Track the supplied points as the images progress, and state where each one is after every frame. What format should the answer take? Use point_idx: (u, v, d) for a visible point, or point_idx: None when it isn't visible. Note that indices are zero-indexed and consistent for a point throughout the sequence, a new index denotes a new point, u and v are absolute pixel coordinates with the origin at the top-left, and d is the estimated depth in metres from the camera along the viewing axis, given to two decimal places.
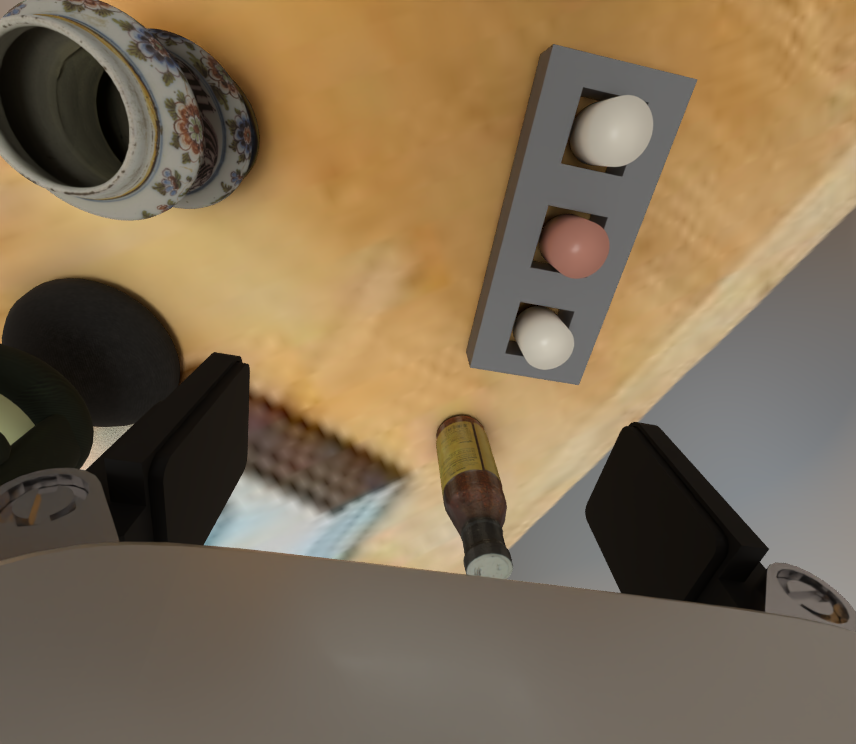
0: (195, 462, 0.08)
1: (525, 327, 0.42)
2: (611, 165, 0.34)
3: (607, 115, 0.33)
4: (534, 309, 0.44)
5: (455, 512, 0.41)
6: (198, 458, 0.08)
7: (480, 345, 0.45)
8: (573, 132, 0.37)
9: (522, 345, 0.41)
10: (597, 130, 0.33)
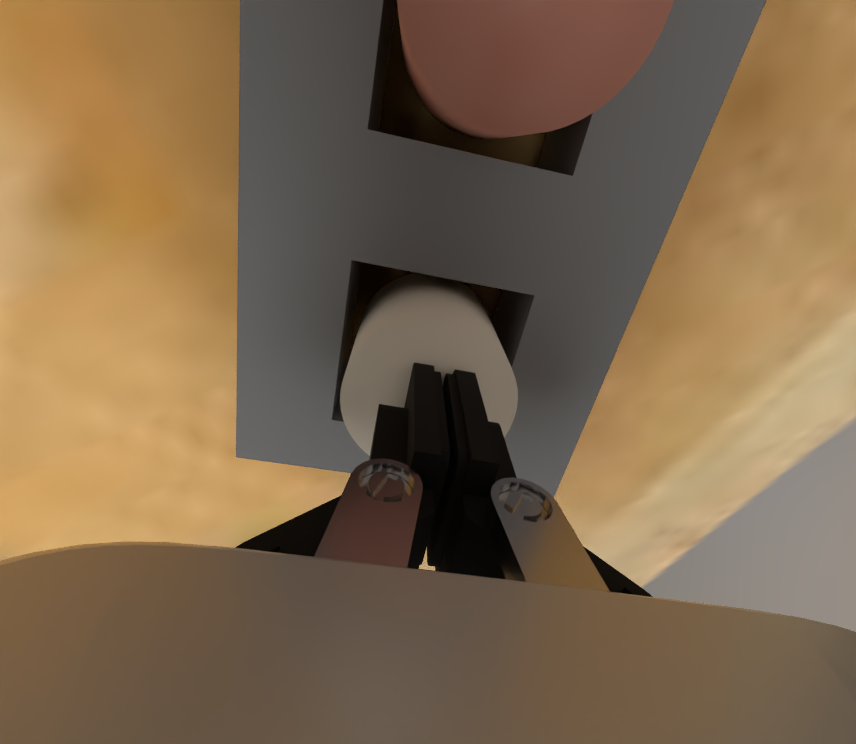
0: None
1: (359, 337, 0.12)
2: None
3: None
4: (408, 280, 0.14)
5: None
6: None
7: (250, 397, 0.15)
8: None
9: None
10: None
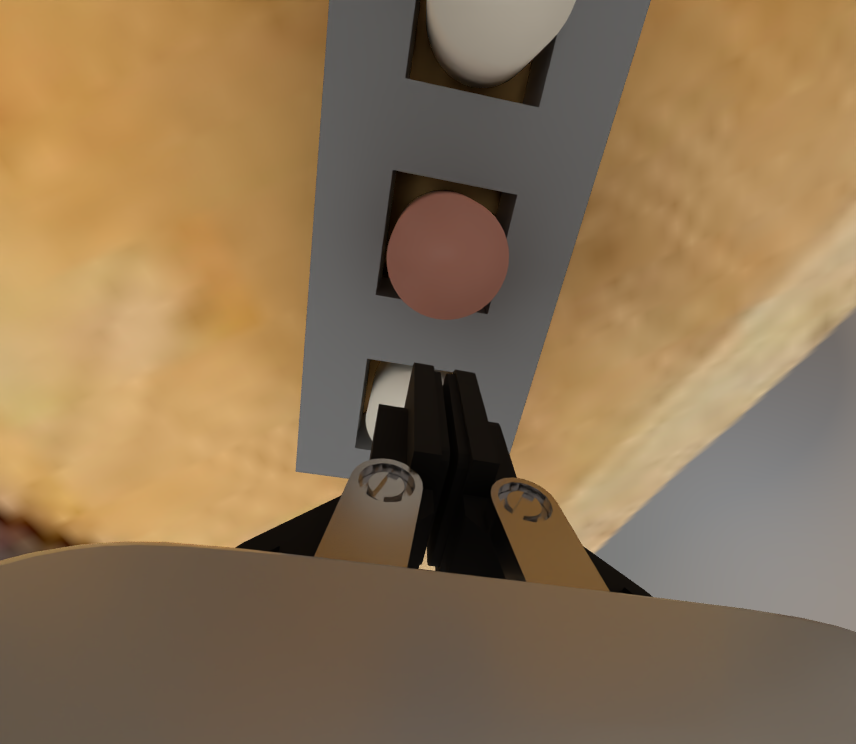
0: None
1: (375, 387, 0.24)
2: (491, 59, 0.15)
3: None
4: None
5: None
6: None
7: (306, 435, 0.25)
8: (426, 8, 0.17)
9: None
10: None
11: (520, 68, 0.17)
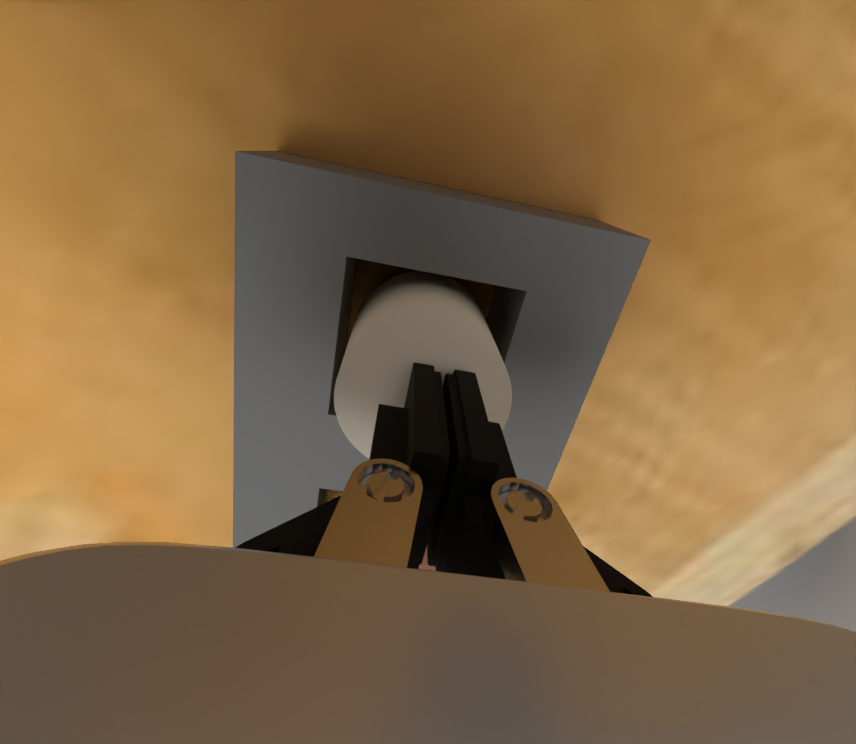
0: None
1: None
2: None
3: (376, 366, 0.11)
4: None
5: None
6: None
7: None
8: None
9: None
10: (355, 400, 0.12)
11: None
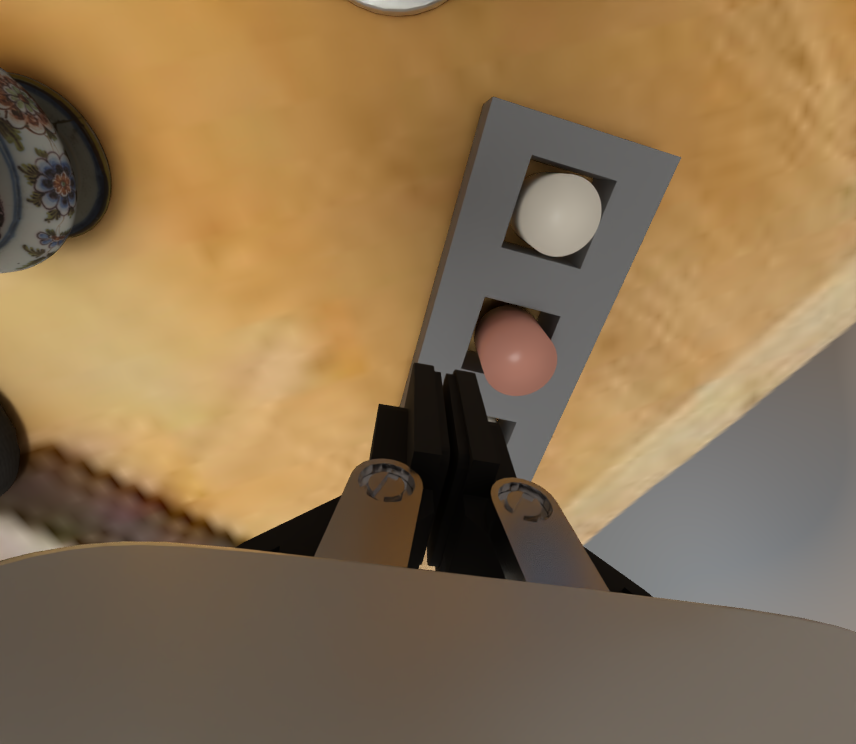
0: None
1: None
2: (549, 254, 0.28)
3: (546, 195, 0.26)
4: None
5: None
6: None
7: None
8: None
9: None
10: (533, 212, 0.27)
11: None
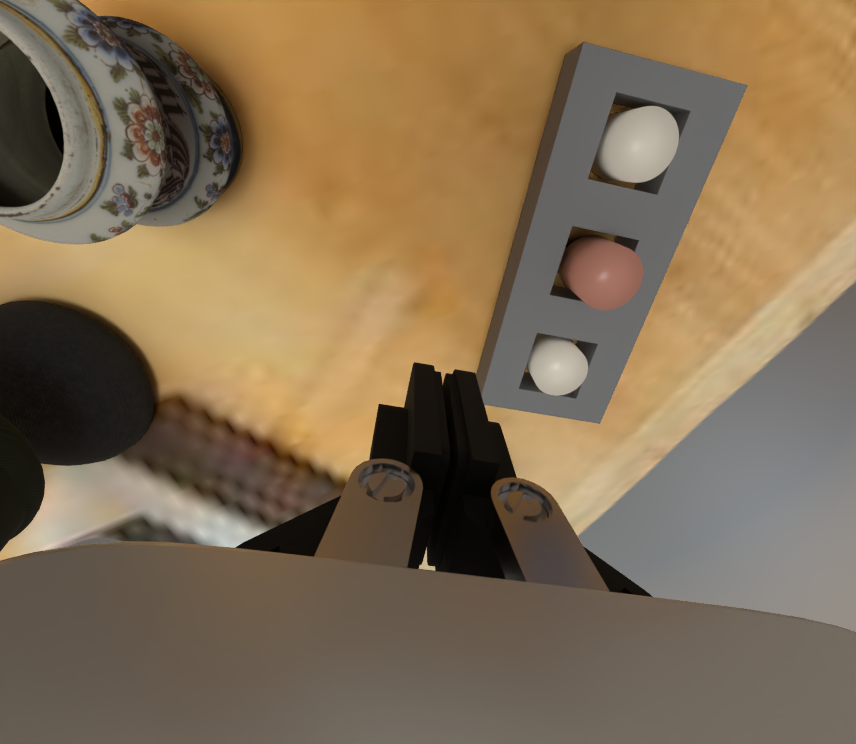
0: None
1: (536, 350, 0.39)
2: (632, 181, 0.32)
3: (630, 127, 0.30)
4: None
5: None
6: None
7: (491, 380, 0.40)
8: None
9: (532, 369, 0.39)
10: (618, 143, 0.31)
11: None
